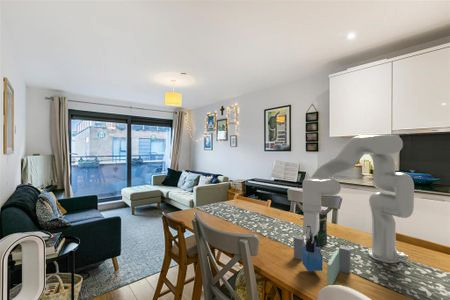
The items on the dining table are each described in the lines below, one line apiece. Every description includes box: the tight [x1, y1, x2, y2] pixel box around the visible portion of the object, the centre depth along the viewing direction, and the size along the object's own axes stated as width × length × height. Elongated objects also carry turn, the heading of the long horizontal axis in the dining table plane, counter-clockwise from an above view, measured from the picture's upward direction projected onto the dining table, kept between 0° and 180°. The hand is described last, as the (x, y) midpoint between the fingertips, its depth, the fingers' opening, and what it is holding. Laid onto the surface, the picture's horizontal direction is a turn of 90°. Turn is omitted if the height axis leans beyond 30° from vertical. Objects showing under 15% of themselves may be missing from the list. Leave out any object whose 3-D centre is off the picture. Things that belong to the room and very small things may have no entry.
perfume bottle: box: [301, 238, 323, 272], centre depth 95 cm, size 6×6×12 cm
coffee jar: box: [310, 209, 328, 246], centre depth 125 cm, size 10×8×19 cm
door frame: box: [293, 235, 352, 274], centre depth 102 cm, size 24×3×10 cm, turn 55°
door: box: [326, 249, 340, 287], centre depth 90 cm, size 15×1×9 cm, turn 141°
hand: (312, 248), depth 95 cm, fingers closed on perfume bottle, 5 cm apart
